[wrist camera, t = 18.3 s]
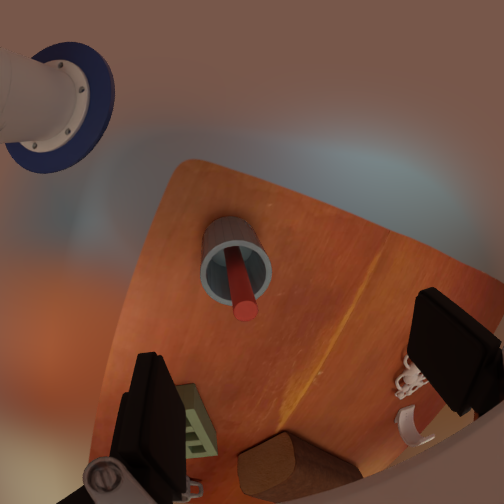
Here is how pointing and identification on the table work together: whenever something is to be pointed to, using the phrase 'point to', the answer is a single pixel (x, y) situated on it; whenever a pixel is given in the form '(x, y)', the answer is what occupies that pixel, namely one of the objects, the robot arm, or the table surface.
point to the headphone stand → (409, 427)
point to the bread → (291, 470)
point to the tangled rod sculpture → (409, 379)
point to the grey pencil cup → (213, 258)
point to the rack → (197, 424)
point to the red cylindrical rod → (240, 285)
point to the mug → (189, 495)
